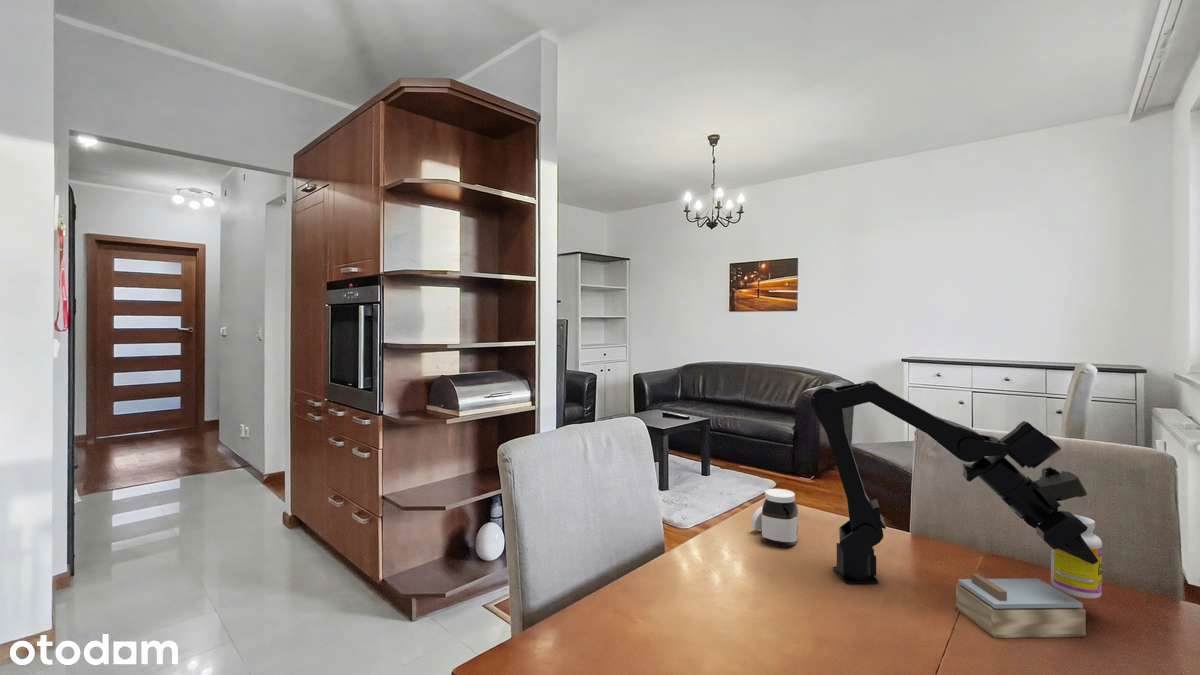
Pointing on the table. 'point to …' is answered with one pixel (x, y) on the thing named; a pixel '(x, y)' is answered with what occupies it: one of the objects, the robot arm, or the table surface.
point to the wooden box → (1021, 618)
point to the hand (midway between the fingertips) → (1086, 554)
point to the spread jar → (777, 518)
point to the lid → (1018, 593)
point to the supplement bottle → (1079, 567)
